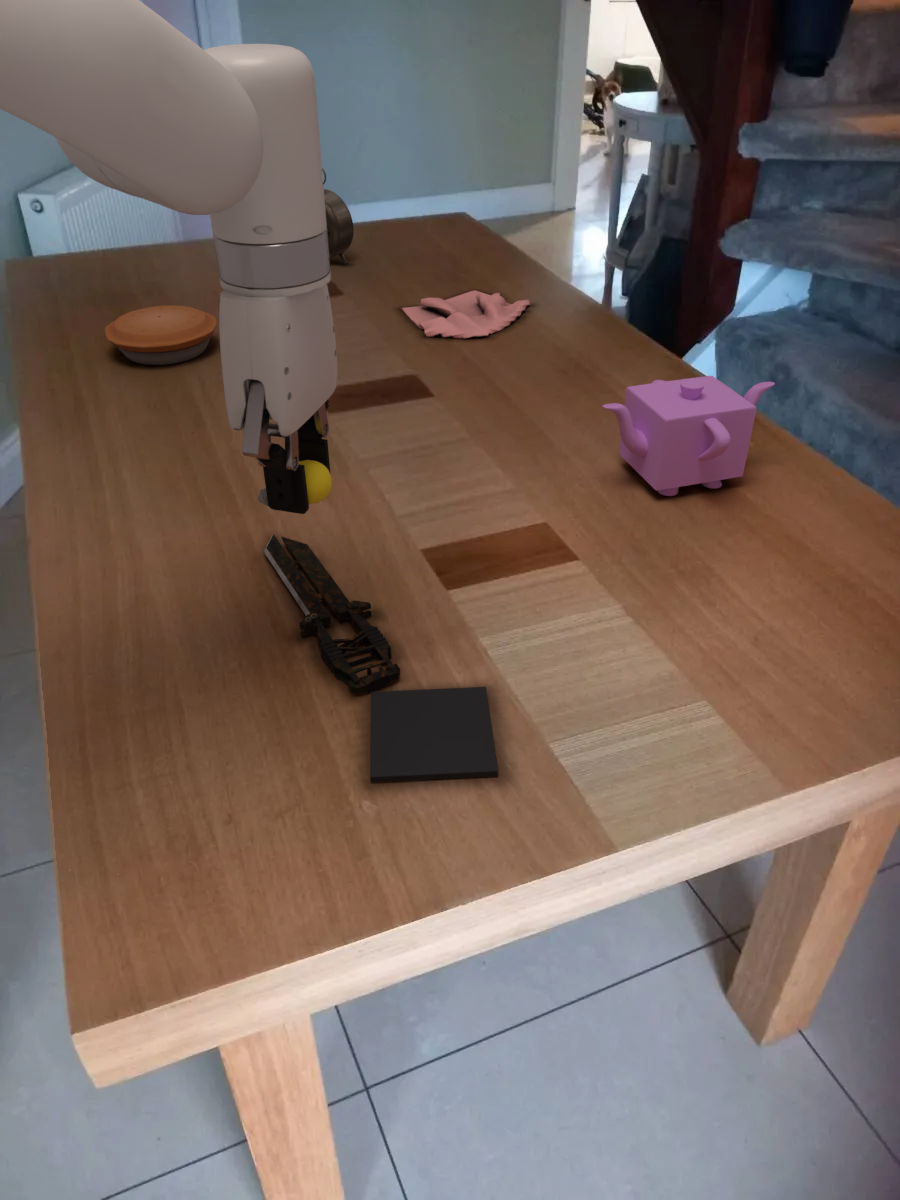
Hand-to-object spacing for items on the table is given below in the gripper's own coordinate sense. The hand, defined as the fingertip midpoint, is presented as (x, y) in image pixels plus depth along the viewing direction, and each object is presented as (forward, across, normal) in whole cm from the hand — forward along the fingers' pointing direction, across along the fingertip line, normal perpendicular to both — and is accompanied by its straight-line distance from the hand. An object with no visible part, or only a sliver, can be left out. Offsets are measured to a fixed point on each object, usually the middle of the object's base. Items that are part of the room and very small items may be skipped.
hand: (300, 494), depth 73 cm
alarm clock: (+13, -100, -41) cm, 109 cm away
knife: (+13, -2, 0) cm, 13 cm away
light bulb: (+1, 0, 0) cm, 1 cm away
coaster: (+13, +11, +14) cm, 22 cm away
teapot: (+13, -35, +28) cm, 47 cm away
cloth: (+13, -80, -8) cm, 82 cm away
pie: (+13, -53, -46) cm, 72 cm away
